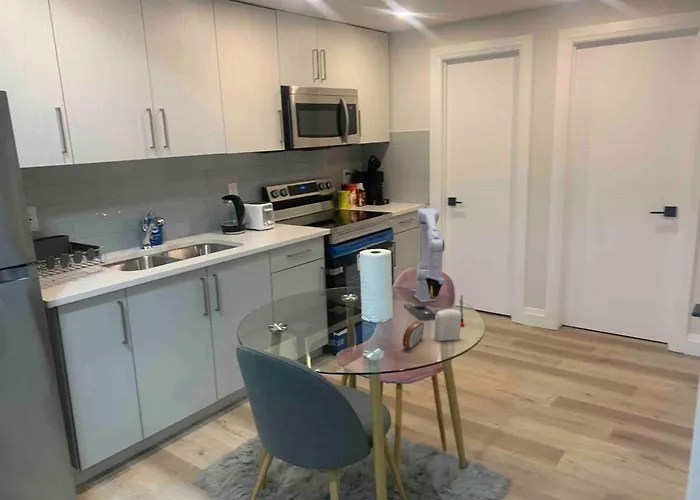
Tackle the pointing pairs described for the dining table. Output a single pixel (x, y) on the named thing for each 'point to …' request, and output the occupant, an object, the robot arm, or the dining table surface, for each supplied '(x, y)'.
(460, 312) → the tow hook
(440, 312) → the photo printer
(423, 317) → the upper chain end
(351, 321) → the dining table surface
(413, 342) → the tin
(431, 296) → the pin
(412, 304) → the lower chain end
